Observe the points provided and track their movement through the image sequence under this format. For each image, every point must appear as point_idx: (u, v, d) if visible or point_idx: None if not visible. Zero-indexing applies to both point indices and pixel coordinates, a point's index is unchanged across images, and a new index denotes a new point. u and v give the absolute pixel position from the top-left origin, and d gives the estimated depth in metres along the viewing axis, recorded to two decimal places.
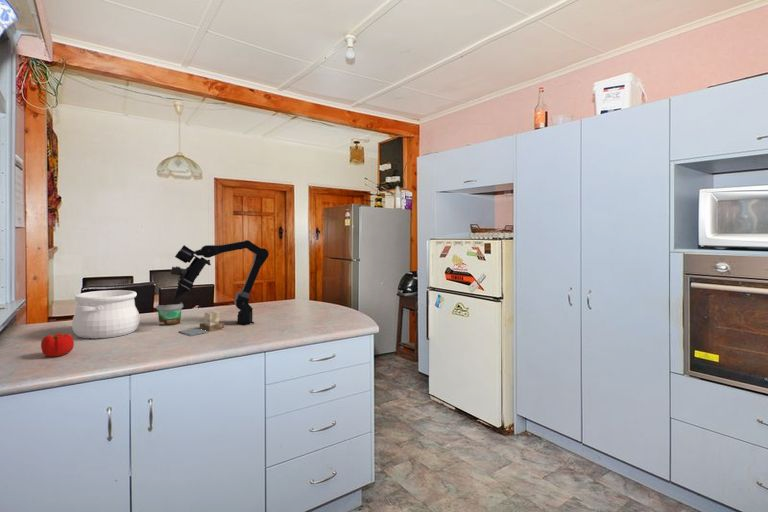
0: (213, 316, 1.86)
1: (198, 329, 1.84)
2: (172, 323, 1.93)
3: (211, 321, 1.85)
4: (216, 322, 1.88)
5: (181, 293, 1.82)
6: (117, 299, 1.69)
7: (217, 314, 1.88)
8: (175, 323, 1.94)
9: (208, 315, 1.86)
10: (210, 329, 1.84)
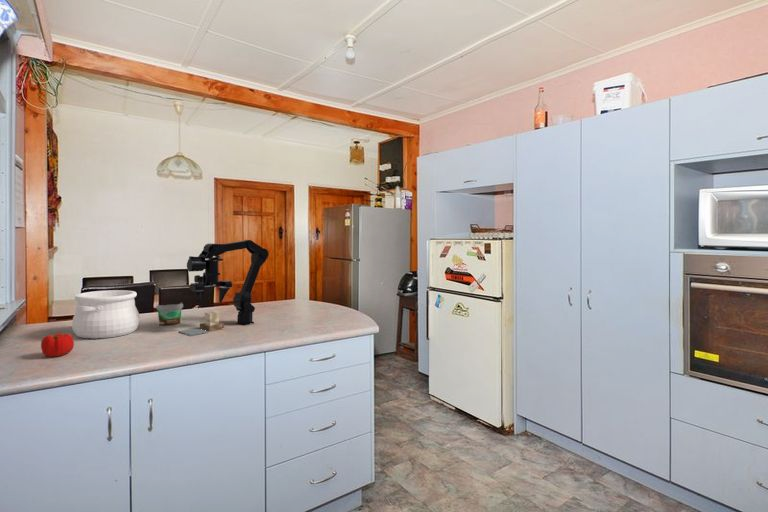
0: (213, 316, 1.86)
1: (198, 329, 1.84)
2: (172, 323, 1.93)
3: (211, 321, 1.85)
4: (216, 322, 1.88)
5: (201, 298, 1.82)
6: (117, 299, 1.69)
7: (217, 314, 1.88)
8: (175, 323, 1.94)
9: (208, 315, 1.86)
10: (210, 329, 1.84)
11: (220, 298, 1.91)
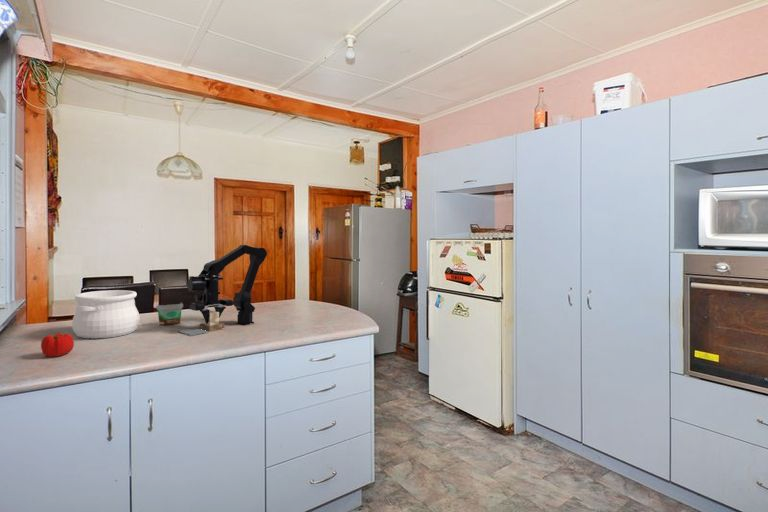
0: (213, 316, 1.86)
1: (198, 329, 1.84)
2: (172, 323, 1.93)
3: (211, 321, 1.85)
4: (216, 322, 1.88)
5: (205, 316, 1.85)
6: (117, 299, 1.69)
7: (217, 314, 1.88)
8: (175, 323, 1.94)
9: None
10: (210, 329, 1.84)
11: None
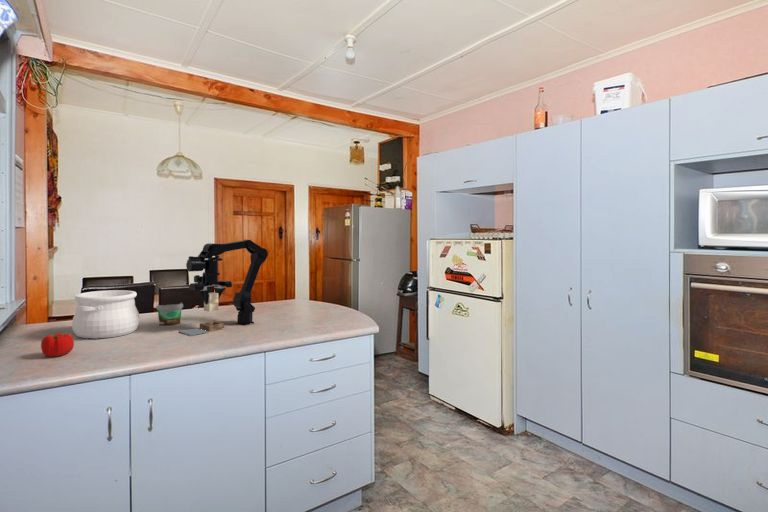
0: (212, 297, 1.86)
1: (198, 329, 1.84)
2: (172, 323, 1.93)
3: (210, 301, 1.85)
4: (215, 303, 1.87)
5: (205, 297, 1.84)
6: (117, 299, 1.69)
7: (216, 295, 1.87)
8: (175, 323, 1.94)
9: None
10: (210, 329, 1.84)
11: None
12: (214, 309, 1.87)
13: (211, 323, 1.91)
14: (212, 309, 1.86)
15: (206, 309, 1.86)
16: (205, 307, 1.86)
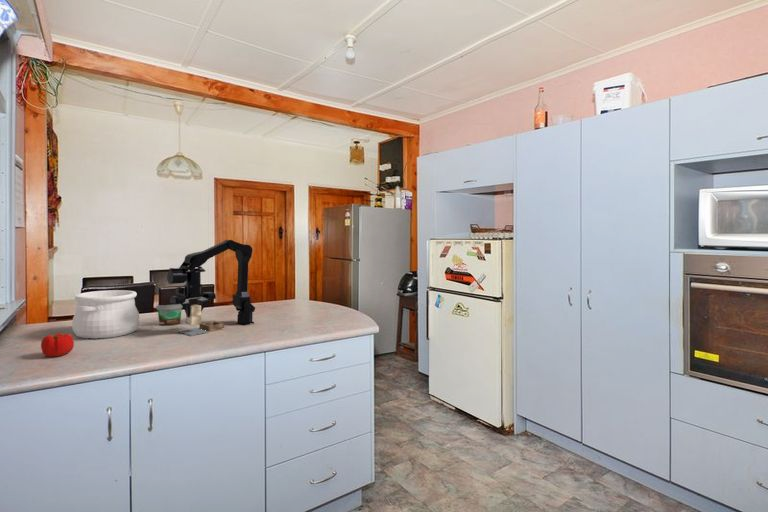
0: (195, 310, 1.79)
1: (198, 329, 1.84)
2: (172, 323, 1.93)
3: (192, 314, 1.78)
4: (198, 316, 1.80)
5: (187, 310, 1.77)
6: (117, 299, 1.69)
7: (199, 307, 1.80)
8: (175, 323, 1.94)
9: None
10: (210, 329, 1.84)
11: None
12: (197, 322, 1.80)
13: (211, 323, 1.91)
14: (194, 322, 1.79)
15: (188, 322, 1.79)
16: (187, 320, 1.79)
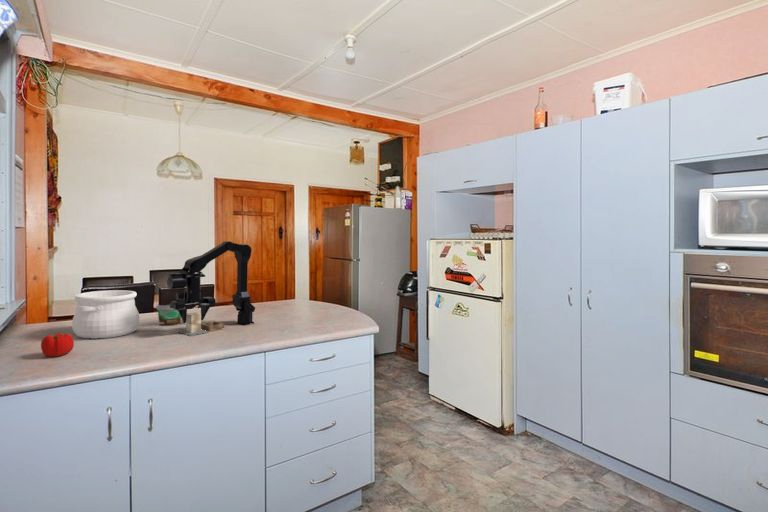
0: (195, 318, 1.79)
1: None
2: (172, 323, 1.93)
3: (192, 323, 1.78)
4: (198, 324, 1.80)
5: (183, 316, 1.76)
6: (117, 299, 1.69)
7: (199, 316, 1.81)
8: (175, 323, 1.94)
9: (189, 317, 1.78)
10: (210, 329, 1.84)
11: (202, 316, 1.84)
12: (196, 330, 1.80)
13: (211, 323, 1.91)
14: (194, 330, 1.79)
15: (188, 330, 1.79)
16: (187, 328, 1.80)
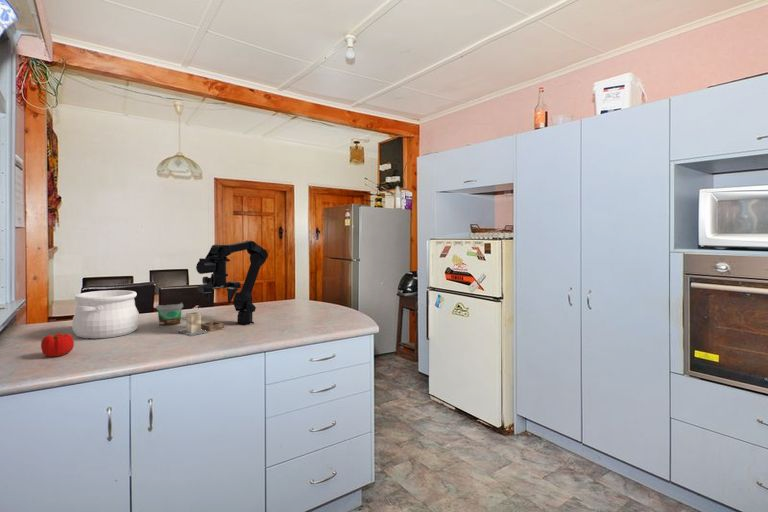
0: (195, 318, 1.79)
1: None
2: (172, 323, 1.93)
3: (192, 323, 1.78)
4: (198, 324, 1.80)
5: (209, 299, 1.81)
6: (117, 299, 1.69)
7: (199, 316, 1.81)
8: (175, 323, 1.94)
9: (189, 317, 1.78)
10: (210, 329, 1.84)
11: (229, 299, 1.90)
12: (196, 330, 1.80)
13: (211, 323, 1.91)
14: (194, 330, 1.79)
15: (188, 330, 1.79)
16: (187, 328, 1.80)
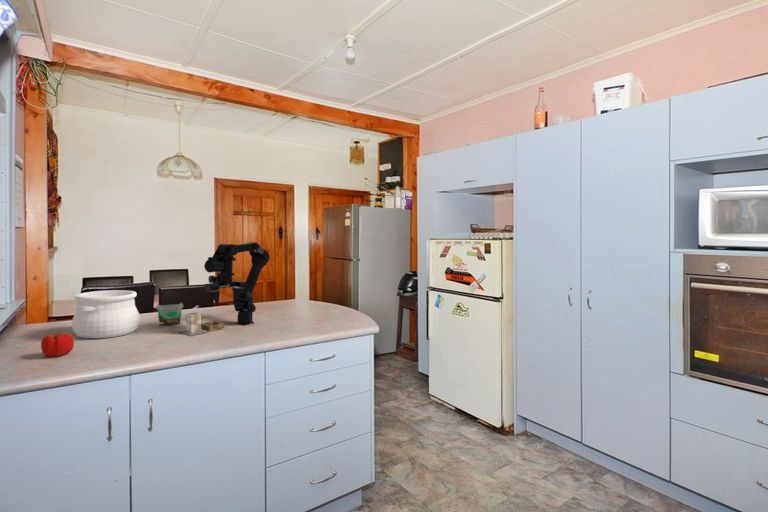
0: (195, 318, 1.79)
1: None
2: (172, 323, 1.93)
3: (192, 323, 1.78)
4: (198, 324, 1.80)
5: (215, 298, 1.83)
6: (117, 299, 1.69)
7: (199, 316, 1.81)
8: (175, 323, 1.94)
9: (189, 317, 1.78)
10: (210, 329, 1.84)
11: (234, 298, 1.92)
12: (196, 330, 1.80)
13: (211, 323, 1.91)
14: (194, 330, 1.79)
15: (188, 330, 1.79)
16: (187, 328, 1.80)
